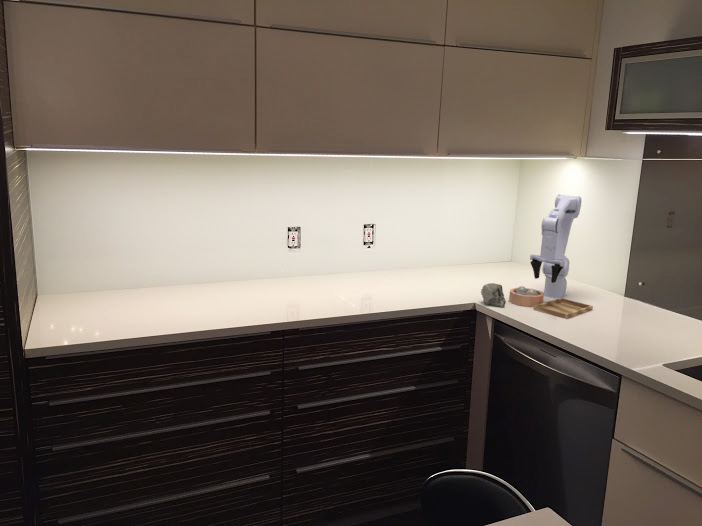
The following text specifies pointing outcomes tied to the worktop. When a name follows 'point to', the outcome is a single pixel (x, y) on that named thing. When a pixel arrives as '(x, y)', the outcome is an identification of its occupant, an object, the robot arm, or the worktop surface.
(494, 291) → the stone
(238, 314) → the worktop surface
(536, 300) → the bowl
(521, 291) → the pebble
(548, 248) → the robot arm
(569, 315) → the tray
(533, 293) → the pebble
